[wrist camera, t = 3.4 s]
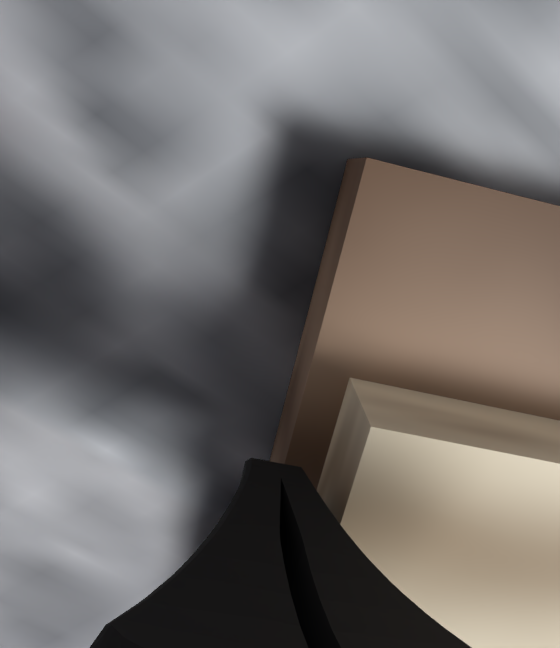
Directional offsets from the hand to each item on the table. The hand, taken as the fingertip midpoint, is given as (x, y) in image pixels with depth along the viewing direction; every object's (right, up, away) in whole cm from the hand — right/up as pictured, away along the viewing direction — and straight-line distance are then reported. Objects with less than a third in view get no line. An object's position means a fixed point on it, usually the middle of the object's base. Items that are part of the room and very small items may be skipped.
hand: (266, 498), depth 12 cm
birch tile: (+6, -1, +2) cm, 6 cm away
